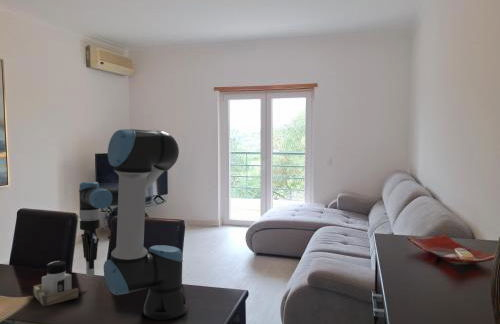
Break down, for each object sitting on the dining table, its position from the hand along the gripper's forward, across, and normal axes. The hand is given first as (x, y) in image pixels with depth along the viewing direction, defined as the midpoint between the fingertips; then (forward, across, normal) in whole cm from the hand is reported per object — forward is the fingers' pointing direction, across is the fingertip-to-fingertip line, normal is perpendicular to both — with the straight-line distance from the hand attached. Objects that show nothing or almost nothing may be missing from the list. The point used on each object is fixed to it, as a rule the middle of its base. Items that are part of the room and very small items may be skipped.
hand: (90, 275), depth 152 cm
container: (+5, +2, +12) cm, 14 cm away
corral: (+5, +1, +12) cm, 14 cm away
